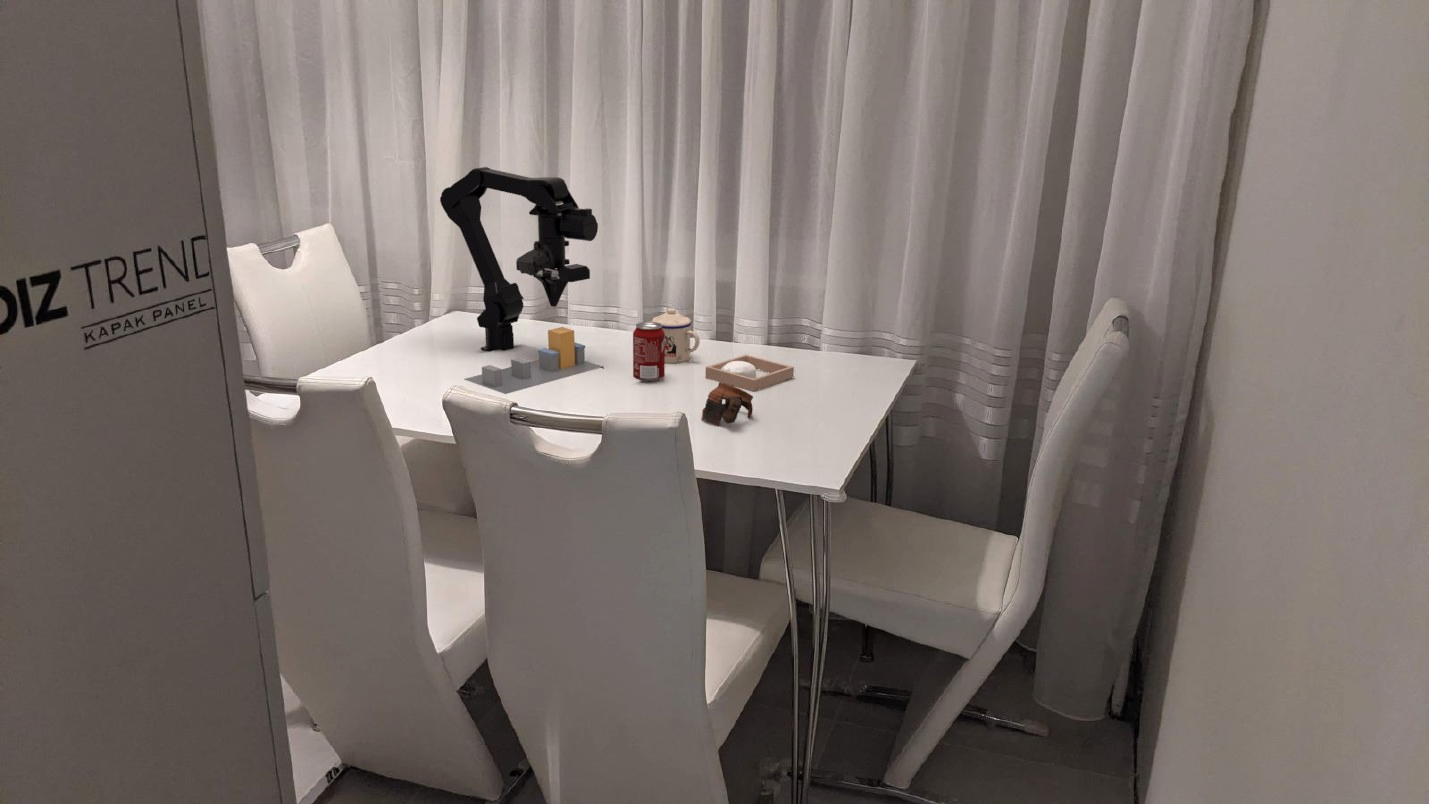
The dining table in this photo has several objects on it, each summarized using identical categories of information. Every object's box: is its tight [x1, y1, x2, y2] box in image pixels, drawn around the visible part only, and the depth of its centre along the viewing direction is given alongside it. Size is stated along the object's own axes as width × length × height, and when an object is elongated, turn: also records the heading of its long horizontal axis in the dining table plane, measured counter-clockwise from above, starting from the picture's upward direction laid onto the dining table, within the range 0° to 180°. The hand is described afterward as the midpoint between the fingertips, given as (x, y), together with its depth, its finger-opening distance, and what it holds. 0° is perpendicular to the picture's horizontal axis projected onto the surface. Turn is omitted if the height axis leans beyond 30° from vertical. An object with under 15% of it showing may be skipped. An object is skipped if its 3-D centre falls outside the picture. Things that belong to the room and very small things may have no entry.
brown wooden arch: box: [701, 382, 754, 427], centre depth 205 cm, size 12×10×8 cm
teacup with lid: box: [651, 307, 701, 364], centre depth 243 cm, size 12×9×12 cm
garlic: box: [721, 361, 757, 379], centre depth 232 cm, size 8×7×4 cm
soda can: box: [632, 321, 666, 383], centre depth 228 cm, size 7×7×12 cm
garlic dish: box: [705, 354, 795, 392], centre depth 232 cm, size 14×14×2 cm
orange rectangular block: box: [547, 326, 575, 369], centre depth 234 cm, size 4×4×8 cm
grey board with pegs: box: [463, 341, 605, 395], centre depth 229 cm, size 14×27×5 cm, turn 139°
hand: (553, 306), depth 238 cm, fingers closed
